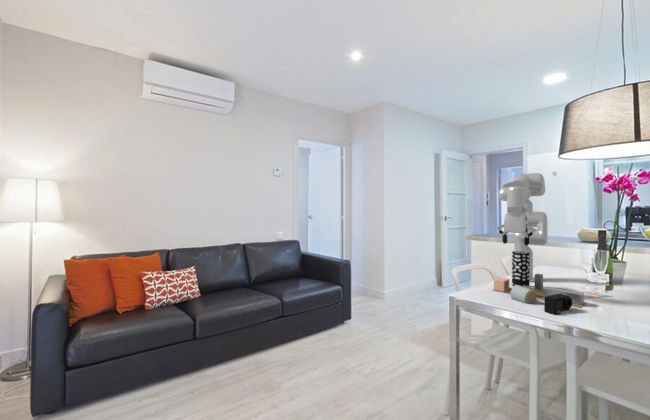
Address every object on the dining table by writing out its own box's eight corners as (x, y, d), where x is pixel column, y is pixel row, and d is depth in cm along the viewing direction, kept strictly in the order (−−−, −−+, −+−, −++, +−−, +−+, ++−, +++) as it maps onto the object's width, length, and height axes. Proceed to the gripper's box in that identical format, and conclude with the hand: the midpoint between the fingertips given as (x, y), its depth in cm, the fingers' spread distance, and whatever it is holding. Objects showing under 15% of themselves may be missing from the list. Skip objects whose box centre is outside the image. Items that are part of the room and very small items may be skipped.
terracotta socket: (499, 287, 169) (499, 277, 169) (509, 288, 165) (509, 278, 165) (493, 289, 164) (493, 279, 164) (503, 291, 160) (503, 281, 160)
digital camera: (557, 316, 128) (557, 299, 128) (544, 312, 133) (544, 296, 133) (572, 312, 132) (572, 296, 132) (559, 308, 137) (559, 293, 137)
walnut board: (500, 288, 171) (500, 286, 171) (586, 304, 142) (586, 302, 142) (492, 292, 163) (492, 290, 163) (581, 310, 135) (581, 308, 135)
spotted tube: (525, 286, 174) (525, 251, 174) (532, 290, 166) (532, 253, 166) (509, 285, 176) (509, 251, 176) (515, 289, 168) (515, 253, 167)
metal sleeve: (546, 296, 152) (546, 286, 151) (584, 303, 140) (584, 292, 140) (543, 298, 148) (543, 288, 148) (581, 306, 137) (581, 295, 137)
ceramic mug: (526, 306, 140) (526, 290, 140) (509, 301, 148) (510, 285, 148) (542, 304, 144) (542, 288, 144) (525, 299, 152) (525, 283, 152)
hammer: (525, 290, 158) (525, 271, 158) (579, 300, 141) (579, 279, 141) (522, 292, 155) (522, 272, 155) (577, 302, 139) (577, 281, 139)
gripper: (538, 210, 151) (537, 245, 151) (500, 210, 164) (500, 242, 164) (532, 211, 146) (532, 246, 146) (494, 210, 159) (494, 243, 160)
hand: (515, 244), depth 155 cm, fingers open, 9 cm apart
